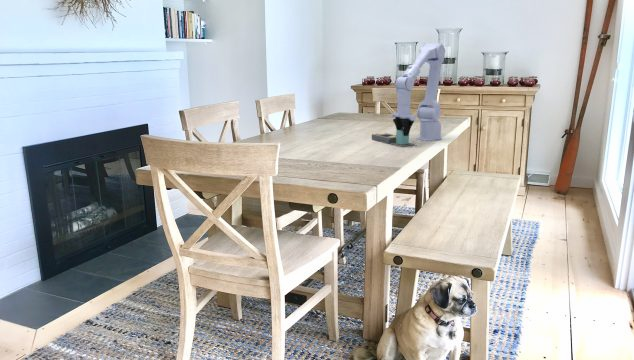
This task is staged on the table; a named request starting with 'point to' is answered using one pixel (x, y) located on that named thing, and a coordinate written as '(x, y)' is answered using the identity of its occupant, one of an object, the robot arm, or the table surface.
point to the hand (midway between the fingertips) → (403, 135)
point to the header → (384, 137)
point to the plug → (401, 137)
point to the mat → (402, 145)
